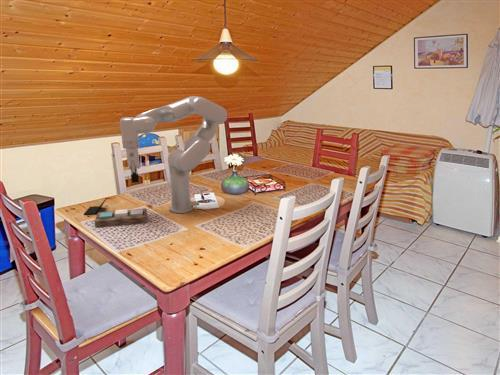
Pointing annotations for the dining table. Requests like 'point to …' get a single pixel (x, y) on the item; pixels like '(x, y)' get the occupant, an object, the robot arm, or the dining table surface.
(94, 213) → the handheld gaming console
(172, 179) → the robot arm
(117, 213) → the cream key
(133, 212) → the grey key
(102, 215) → the teal square block
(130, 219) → the key panel
